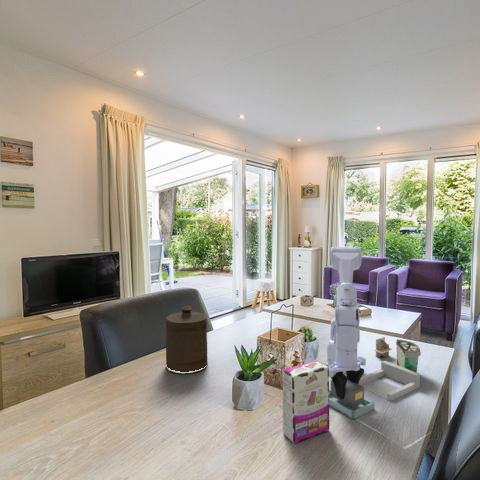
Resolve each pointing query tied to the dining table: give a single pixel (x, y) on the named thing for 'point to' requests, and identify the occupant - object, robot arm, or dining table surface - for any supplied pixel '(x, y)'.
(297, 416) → the candy bar box
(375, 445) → the dining table surface
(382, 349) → the architectural model
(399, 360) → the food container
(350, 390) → the grey rectangular block
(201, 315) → the wooden container
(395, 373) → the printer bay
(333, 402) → the tray
